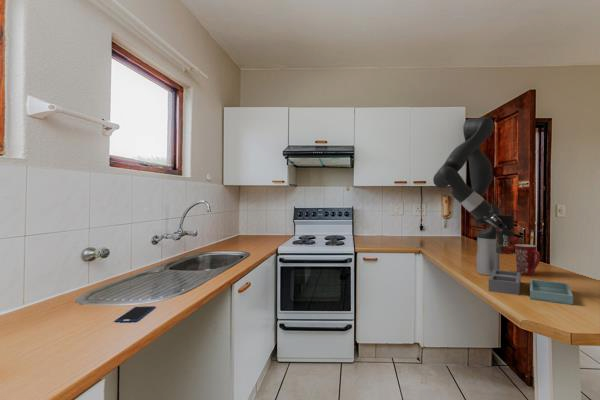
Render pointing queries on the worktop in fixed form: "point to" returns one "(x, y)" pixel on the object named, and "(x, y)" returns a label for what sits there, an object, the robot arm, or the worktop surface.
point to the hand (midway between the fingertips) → (509, 234)
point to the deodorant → (505, 236)
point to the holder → (505, 282)
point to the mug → (526, 258)
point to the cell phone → (135, 314)
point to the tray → (551, 292)
